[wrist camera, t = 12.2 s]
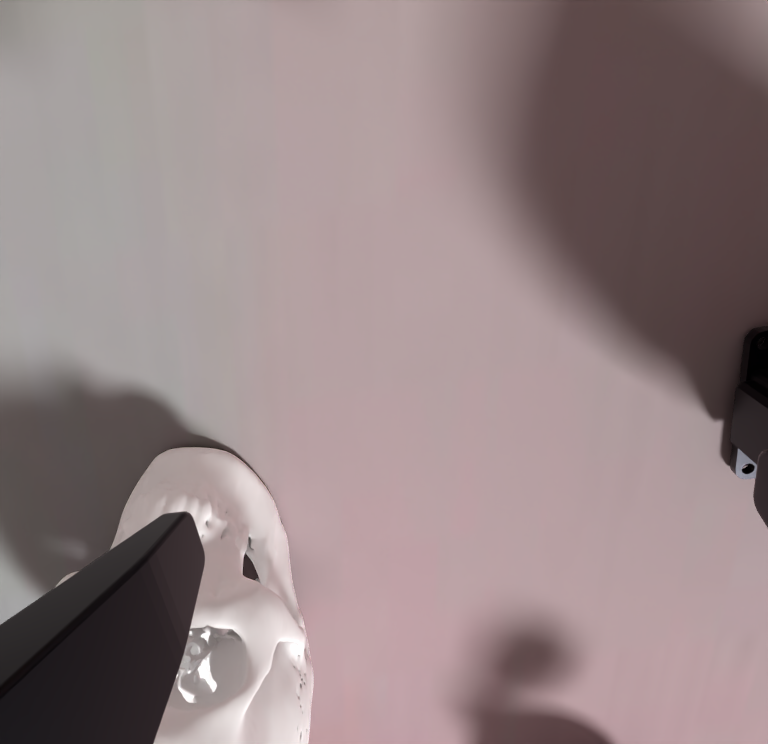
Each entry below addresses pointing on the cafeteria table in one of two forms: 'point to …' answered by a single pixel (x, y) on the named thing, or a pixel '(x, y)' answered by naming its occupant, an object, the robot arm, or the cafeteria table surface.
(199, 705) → the skull bowl
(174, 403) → the cafeteria table surface
